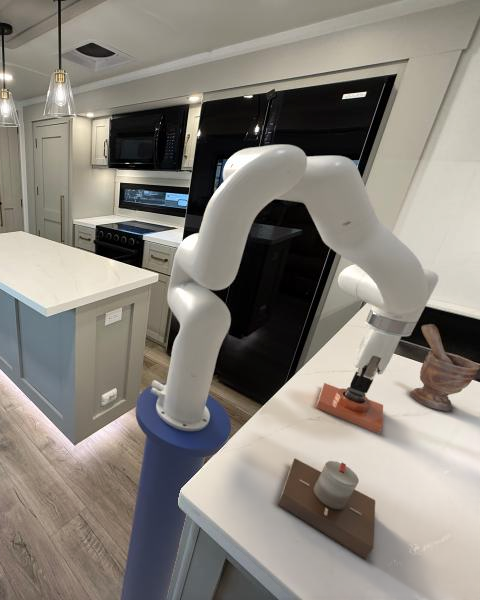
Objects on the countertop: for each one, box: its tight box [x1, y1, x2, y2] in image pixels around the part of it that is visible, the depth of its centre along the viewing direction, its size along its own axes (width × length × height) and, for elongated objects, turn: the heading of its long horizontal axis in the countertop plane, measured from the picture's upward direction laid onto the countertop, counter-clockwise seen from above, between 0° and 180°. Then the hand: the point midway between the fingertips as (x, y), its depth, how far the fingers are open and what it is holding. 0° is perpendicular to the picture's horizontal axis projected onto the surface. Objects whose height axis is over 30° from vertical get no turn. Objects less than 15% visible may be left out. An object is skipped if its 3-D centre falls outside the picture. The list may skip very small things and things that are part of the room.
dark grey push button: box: [344, 386, 367, 403], centre depth 76 cm, size 4×4×2 cm
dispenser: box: [315, 382, 384, 435], centre depth 77 cm, size 12×10×4 cm
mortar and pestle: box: [410, 323, 480, 412], centre depth 79 cm, size 12×9×20 cm
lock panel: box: [277, 457, 376, 560], centre depth 54 cm, size 12×10×3 cm
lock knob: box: [314, 460, 360, 509], centre depth 52 cm, size 4×4×6 cm
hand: (358, 388), depth 75 cm, fingers closed
